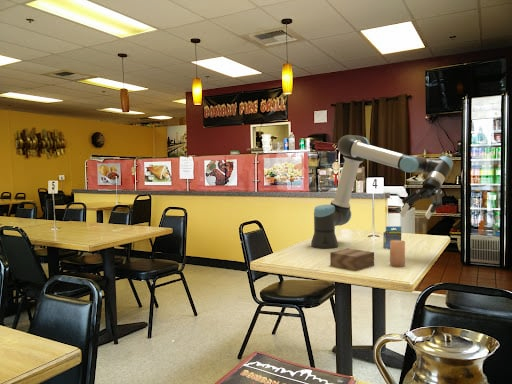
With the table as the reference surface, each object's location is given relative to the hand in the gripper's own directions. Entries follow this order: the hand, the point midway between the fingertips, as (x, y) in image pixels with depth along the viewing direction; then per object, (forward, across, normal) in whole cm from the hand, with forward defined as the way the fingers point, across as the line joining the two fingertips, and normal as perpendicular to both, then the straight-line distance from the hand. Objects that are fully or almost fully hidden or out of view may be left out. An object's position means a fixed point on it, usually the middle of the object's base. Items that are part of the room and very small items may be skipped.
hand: (413, 216), depth 193 cm
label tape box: (0, +30, -31) cm, 43 cm away
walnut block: (+35, +12, +5) cm, 37 cm away
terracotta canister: (+23, +1, -8) cm, 24 cm away
